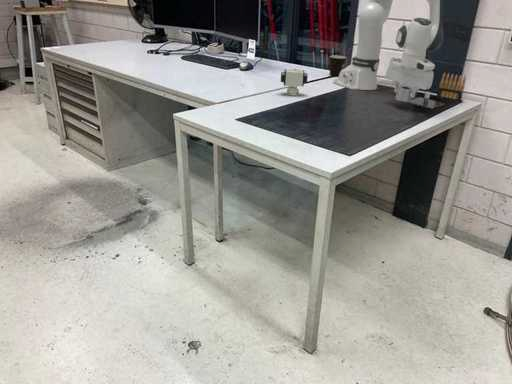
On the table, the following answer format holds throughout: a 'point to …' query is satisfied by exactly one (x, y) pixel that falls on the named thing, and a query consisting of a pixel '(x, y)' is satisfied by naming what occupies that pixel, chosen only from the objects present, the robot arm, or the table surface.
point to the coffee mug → (336, 65)
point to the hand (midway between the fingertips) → (403, 94)
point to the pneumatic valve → (293, 80)
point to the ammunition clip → (451, 88)
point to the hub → (403, 93)
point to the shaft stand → (425, 102)
